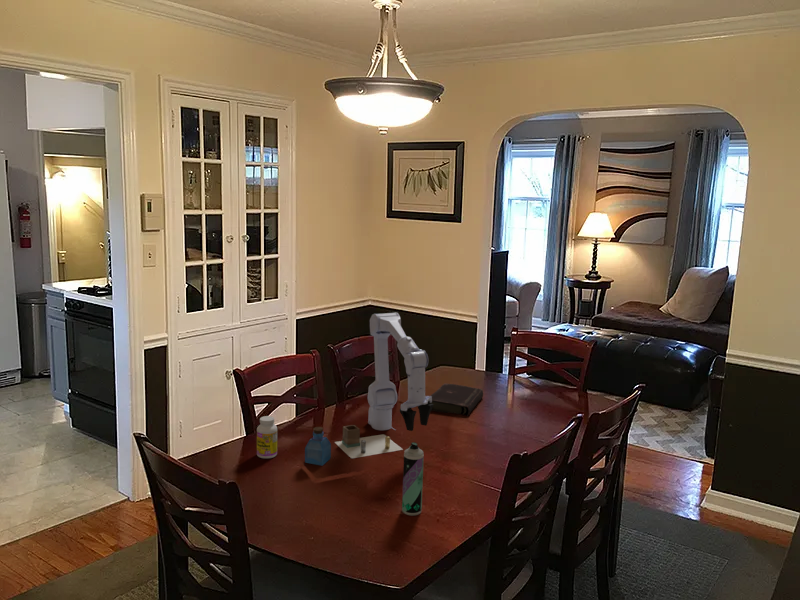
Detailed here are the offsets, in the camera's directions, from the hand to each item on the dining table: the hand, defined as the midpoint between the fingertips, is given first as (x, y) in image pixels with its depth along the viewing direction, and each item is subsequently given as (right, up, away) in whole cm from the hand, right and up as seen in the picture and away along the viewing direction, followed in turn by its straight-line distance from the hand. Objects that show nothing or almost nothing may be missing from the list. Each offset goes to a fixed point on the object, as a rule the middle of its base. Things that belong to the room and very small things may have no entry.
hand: (416, 427), depth 225 cm
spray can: (-2, -17, -35) cm, 39 cm away
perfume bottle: (-32, -11, -6) cm, 34 cm away
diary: (+17, -1, +57) cm, 60 cm away
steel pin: (-18, -9, +1) cm, 20 cm away
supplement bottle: (-50, -9, 0) cm, 51 cm away
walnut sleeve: (-22, -7, +8) cm, 25 cm away
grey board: (-16, -9, +7) cm, 20 cm away
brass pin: (-10, -8, +5) cm, 14 cm away
